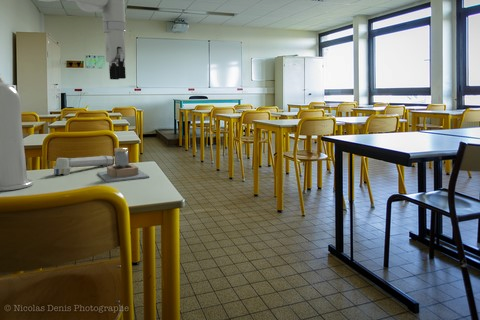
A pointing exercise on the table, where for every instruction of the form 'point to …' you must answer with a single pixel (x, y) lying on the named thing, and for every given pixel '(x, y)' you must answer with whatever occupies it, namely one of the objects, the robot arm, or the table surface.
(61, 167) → the white long slender part
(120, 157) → the grey and brass cylinder
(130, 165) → the socket block
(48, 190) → the table surface
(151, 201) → the table surface
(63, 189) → the table surface
